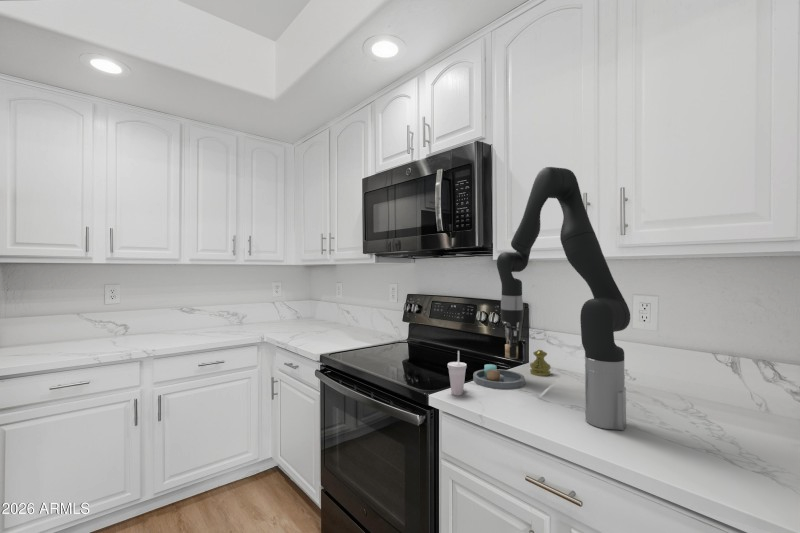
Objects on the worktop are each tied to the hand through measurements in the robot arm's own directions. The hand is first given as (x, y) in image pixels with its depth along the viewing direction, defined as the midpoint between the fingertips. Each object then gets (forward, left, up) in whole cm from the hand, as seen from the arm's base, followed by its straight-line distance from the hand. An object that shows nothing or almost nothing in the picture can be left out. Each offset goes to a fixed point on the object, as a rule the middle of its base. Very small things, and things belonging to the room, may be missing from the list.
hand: (511, 355), depth 134 cm
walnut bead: (+4, +7, -9) cm, 12 cm away
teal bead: (+8, 0, -9) cm, 12 cm away
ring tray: (+4, +2, -10) cm, 11 cm away
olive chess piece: (-5, -17, -10) cm, 20 cm away
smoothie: (+11, +20, -10) cm, 25 cm away
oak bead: (0, 0, -1) cm, 1 cm away
